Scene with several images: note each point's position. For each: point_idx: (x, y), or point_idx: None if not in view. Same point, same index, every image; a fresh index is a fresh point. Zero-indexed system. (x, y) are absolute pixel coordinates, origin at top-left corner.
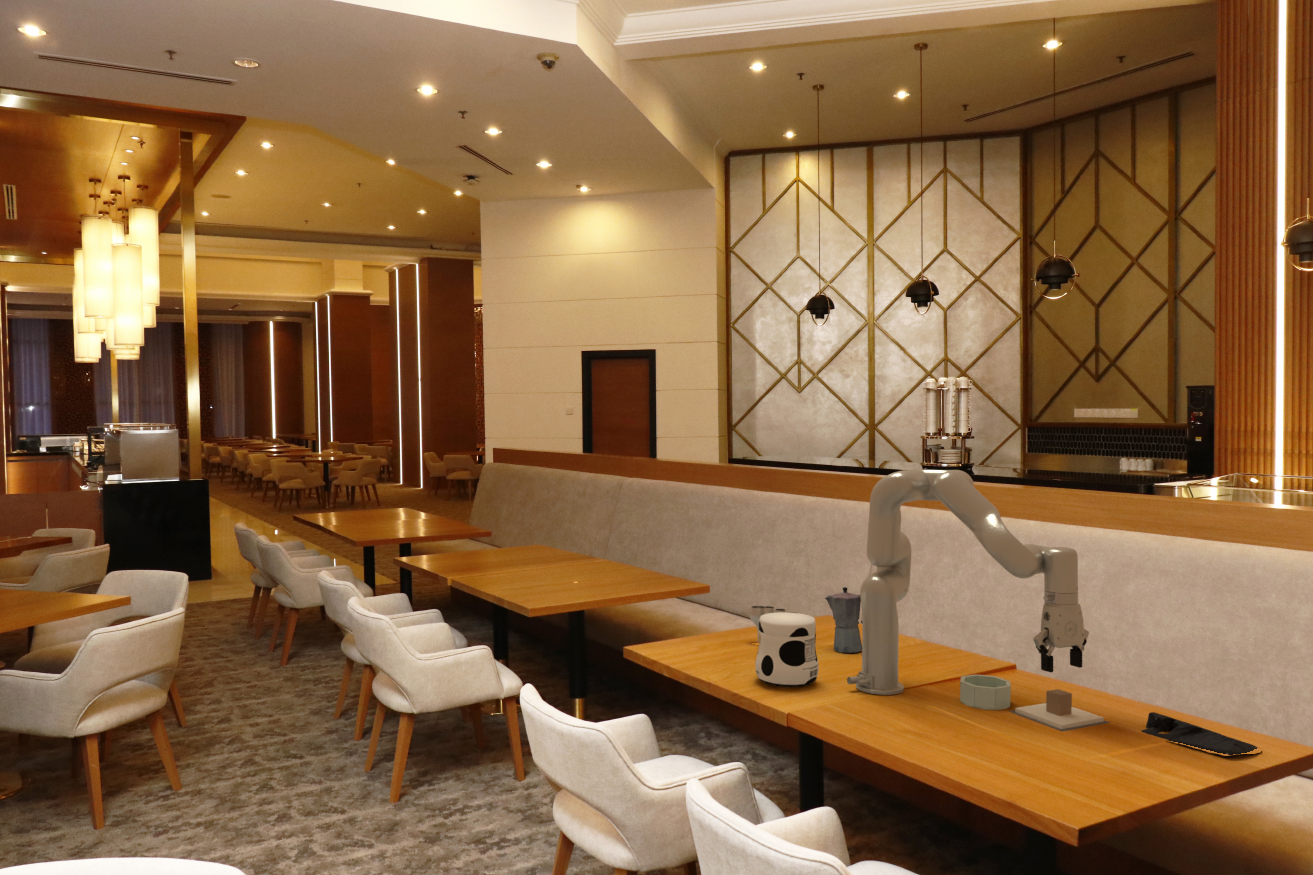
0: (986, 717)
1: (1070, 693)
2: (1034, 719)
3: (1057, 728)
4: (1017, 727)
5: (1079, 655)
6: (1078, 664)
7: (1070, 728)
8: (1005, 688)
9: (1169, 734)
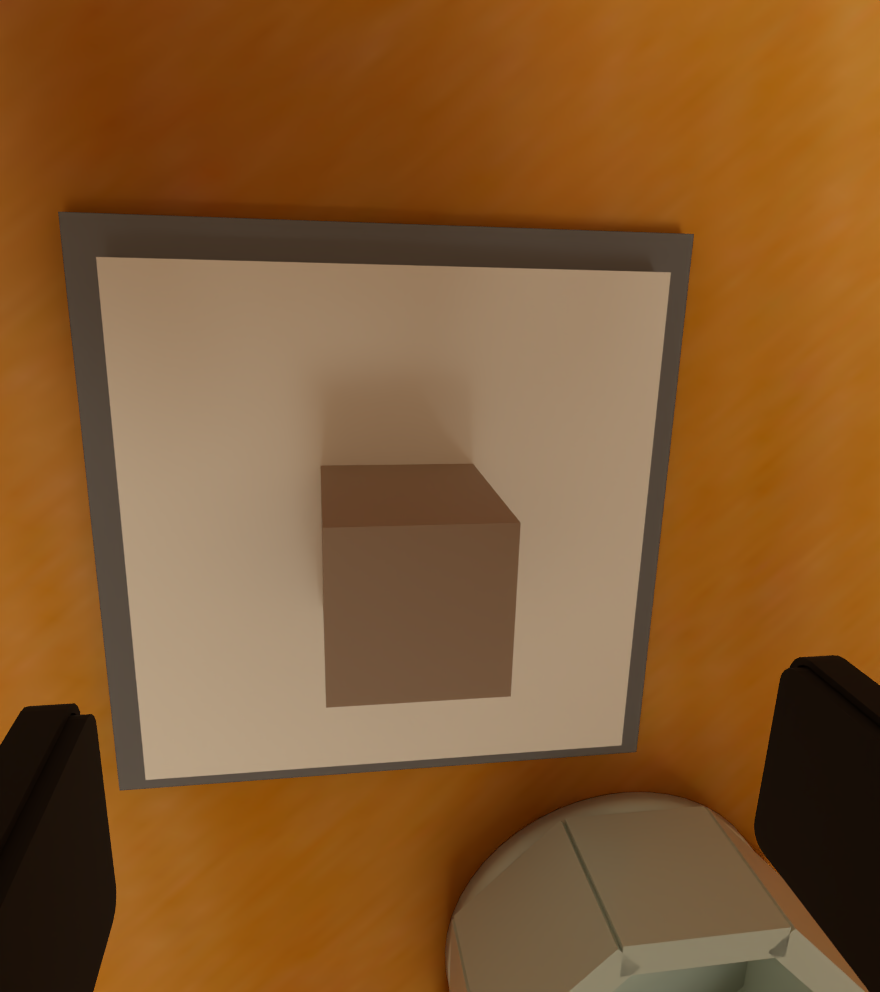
0: None
1: (337, 533)
2: None
3: None
4: (836, 490)
5: (6, 907)
6: (82, 768)
7: (568, 252)
8: (674, 929)
9: None
